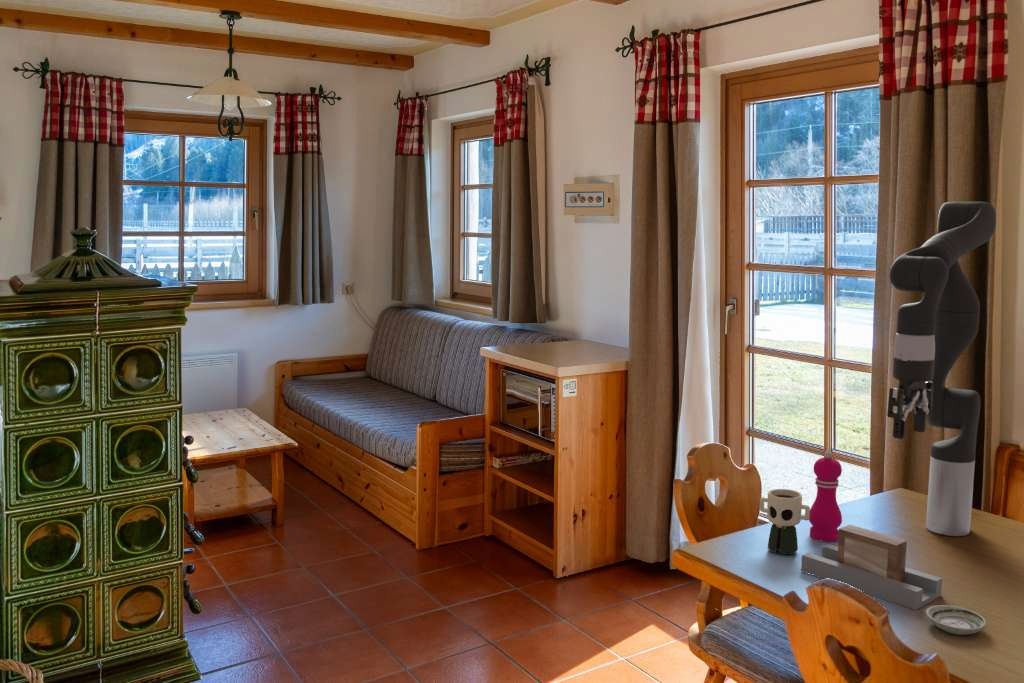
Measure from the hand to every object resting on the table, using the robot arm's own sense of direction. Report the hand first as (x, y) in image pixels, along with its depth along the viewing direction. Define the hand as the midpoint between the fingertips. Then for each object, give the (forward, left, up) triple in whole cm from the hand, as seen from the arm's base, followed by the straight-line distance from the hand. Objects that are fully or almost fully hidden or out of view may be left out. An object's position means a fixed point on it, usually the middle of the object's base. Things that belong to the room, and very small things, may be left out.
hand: (909, 434), depth 185 cm
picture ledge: (+13, 0, -28) cm, 31 cm away
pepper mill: (-4, -20, -28) cm, 35 cm away
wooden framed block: (+13, 0, -27) cm, 30 cm away
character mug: (+11, -21, -28) cm, 37 cm away
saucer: (+20, +20, -28) cm, 40 cm away
